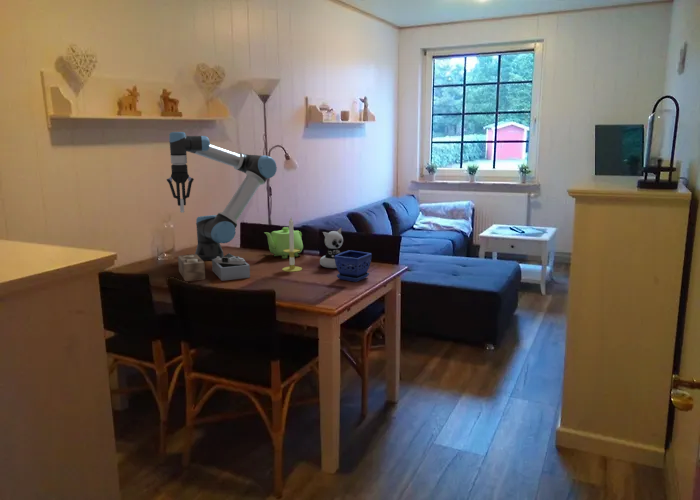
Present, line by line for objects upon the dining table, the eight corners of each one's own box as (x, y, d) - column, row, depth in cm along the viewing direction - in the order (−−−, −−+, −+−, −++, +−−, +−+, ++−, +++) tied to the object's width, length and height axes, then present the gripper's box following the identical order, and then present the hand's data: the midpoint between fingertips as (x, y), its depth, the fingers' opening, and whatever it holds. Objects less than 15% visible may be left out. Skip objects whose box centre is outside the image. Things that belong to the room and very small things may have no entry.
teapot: (287, 249, 325) (286, 222, 322) (310, 255, 310) (310, 227, 306) (251, 255, 309) (250, 227, 305) (273, 262, 293) (272, 232, 290)
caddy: (239, 267, 281) (238, 256, 280) (250, 277, 263) (249, 265, 262) (212, 270, 275) (211, 259, 274) (221, 280, 257) (220, 268, 256)
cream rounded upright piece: (197, 273, 267) (196, 258, 265) (199, 275, 262) (198, 260, 261) (186, 274, 264) (185, 259, 263) (188, 277, 260) (187, 261, 258)
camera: (251, 272, 272) (250, 252, 270) (243, 276, 263) (242, 256, 261) (222, 270, 276) (221, 250, 274) (213, 274, 268) (212, 254, 266)
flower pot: (358, 284, 252) (358, 258, 249) (333, 279, 259) (333, 254, 256) (372, 277, 263) (372, 252, 260) (348, 273, 270) (348, 249, 267)
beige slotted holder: (197, 269, 278) (196, 253, 276) (205, 279, 260) (204, 261, 258) (178, 271, 274) (177, 255, 272) (185, 281, 256) (184, 263, 255)
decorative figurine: (324, 270, 276) (323, 230, 272) (316, 263, 290) (315, 226, 286) (352, 267, 281) (352, 229, 277) (343, 261, 295) (343, 224, 290)
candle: (305, 268, 280) (304, 215, 275) (295, 272, 272) (294, 218, 266) (288, 266, 285) (287, 214, 279) (278, 270, 276) (276, 216, 270)
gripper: (191, 163, 277) (194, 210, 282) (164, 164, 272) (167, 211, 277) (194, 164, 270) (197, 212, 275) (166, 164, 265) (169, 213, 270)
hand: (182, 212), depth 276 cm, fingers closed
